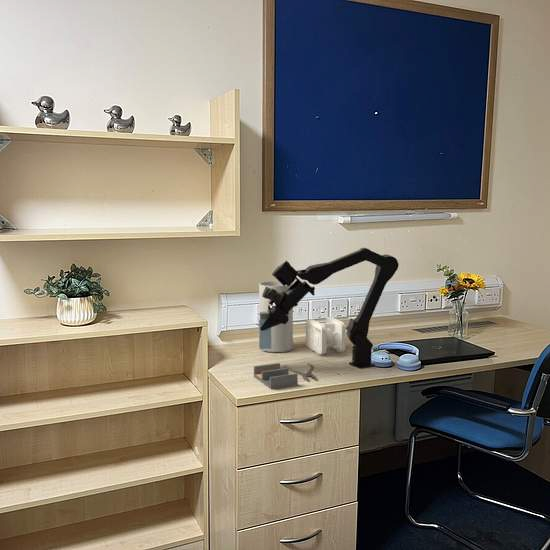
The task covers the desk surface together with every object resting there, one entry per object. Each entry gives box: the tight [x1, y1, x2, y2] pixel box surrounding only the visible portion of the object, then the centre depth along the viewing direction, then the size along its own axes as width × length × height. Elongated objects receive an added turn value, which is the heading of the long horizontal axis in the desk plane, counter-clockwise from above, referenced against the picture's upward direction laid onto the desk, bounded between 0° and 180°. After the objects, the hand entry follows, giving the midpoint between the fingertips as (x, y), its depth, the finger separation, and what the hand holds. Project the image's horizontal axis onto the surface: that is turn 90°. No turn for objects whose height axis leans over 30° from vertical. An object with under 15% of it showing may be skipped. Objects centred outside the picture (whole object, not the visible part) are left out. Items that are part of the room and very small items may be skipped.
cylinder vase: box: [258, 280, 294, 353], centre depth 232 cm, size 12×12×25 cm
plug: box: [258, 312, 271, 350], centre depth 208 cm, size 4×4×12 cm
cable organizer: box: [305, 316, 346, 356], centre depth 229 cm, size 15×11×12 cm
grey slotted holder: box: [253, 362, 299, 390], centre depth 194 cm, size 9×14×4 cm, turn 24°
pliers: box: [283, 362, 318, 383], centre depth 204 cm, size 10×1×20 cm
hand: (260, 328), depth 208 cm, fingers closed on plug, 4 cm apart
